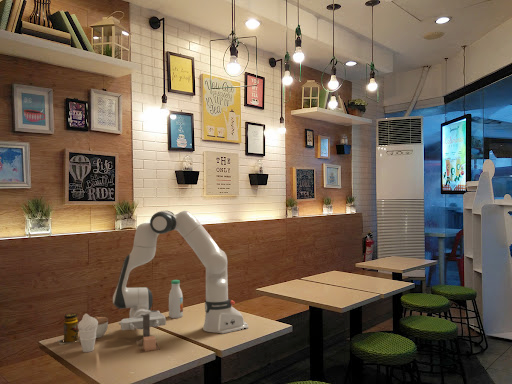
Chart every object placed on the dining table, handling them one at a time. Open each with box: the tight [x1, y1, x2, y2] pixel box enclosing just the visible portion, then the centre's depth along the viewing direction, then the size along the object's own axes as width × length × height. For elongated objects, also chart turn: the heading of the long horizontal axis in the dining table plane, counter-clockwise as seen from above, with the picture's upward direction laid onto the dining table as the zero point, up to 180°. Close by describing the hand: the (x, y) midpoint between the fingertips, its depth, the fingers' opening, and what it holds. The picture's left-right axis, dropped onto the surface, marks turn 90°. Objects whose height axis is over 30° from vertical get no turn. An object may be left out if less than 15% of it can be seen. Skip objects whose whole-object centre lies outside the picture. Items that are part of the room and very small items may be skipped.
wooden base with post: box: [135, 314, 161, 353], centre depth 183 cm, size 17×8×13 cm, turn 23°
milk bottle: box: [168, 279, 184, 319], centre depth 234 cm, size 8×8×20 cm
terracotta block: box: [142, 335, 157, 352], centre depth 178 cm, size 4×4×4 cm
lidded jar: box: [94, 315, 109, 339], centre depth 201 cm, size 11×11×9 cm
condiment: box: [57, 313, 81, 346], centre depth 195 cm, size 7×8×12 cm
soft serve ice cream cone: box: [78, 313, 98, 353], centre depth 181 cm, size 8×8×16 cm
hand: (145, 326), depth 189 cm, fingers open, 8 cm apart
